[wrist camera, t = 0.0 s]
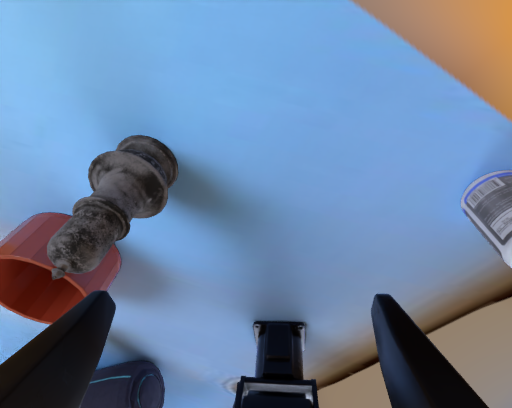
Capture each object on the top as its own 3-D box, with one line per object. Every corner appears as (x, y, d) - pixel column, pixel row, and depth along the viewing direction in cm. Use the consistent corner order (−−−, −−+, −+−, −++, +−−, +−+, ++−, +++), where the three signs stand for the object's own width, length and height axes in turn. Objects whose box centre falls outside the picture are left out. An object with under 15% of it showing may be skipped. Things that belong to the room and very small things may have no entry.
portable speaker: (89, 392, 57) (57, 458, 48) (46, 371, 52) (2, 439, 44) (184, 372, 47) (163, 449, 39) (141, 344, 43) (108, 424, 35)
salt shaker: (100, 163, 24) (-24, 273, 14) (134, 116, 21) (10, 214, 12) (157, 204, 26) (83, 325, 17) (195, 166, 24) (133, 284, 14)
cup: (134, 281, 34) (110, 327, 29) (54, 280, 35) (18, 324, 30) (97, 210, 27) (58, 254, 23) (1, 213, 29) (-55, 255, 24)
